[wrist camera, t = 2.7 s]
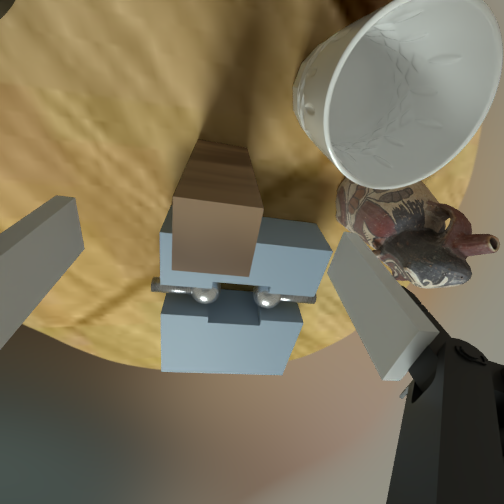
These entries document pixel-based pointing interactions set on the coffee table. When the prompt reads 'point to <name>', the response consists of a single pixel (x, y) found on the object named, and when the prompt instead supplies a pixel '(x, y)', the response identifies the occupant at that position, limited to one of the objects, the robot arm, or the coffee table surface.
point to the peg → (216, 212)
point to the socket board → (241, 304)
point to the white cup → (401, 89)
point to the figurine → (412, 232)
